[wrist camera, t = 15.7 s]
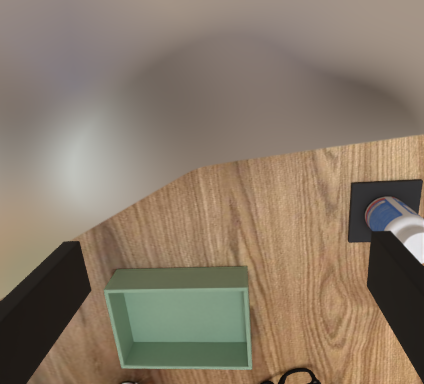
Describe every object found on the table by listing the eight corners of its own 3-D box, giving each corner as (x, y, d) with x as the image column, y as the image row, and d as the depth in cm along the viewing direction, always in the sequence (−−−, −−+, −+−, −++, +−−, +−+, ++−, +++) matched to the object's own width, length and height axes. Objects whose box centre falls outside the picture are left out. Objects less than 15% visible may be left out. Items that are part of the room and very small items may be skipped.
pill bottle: (363, 232, 47) (392, 270, 38) (364, 197, 45) (394, 229, 36) (404, 229, 46) (443, 268, 37) (406, 193, 45) (448, 225, 35)
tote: (116, 269, 54) (103, 289, 49) (247, 266, 51) (247, 287, 46) (132, 342, 59) (121, 368, 54) (251, 342, 56) (252, 369, 51)
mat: (351, 182, 45) (352, 184, 45) (420, 179, 44) (423, 180, 44) (347, 240, 48) (349, 242, 48) (412, 238, 47) (414, 240, 47)
